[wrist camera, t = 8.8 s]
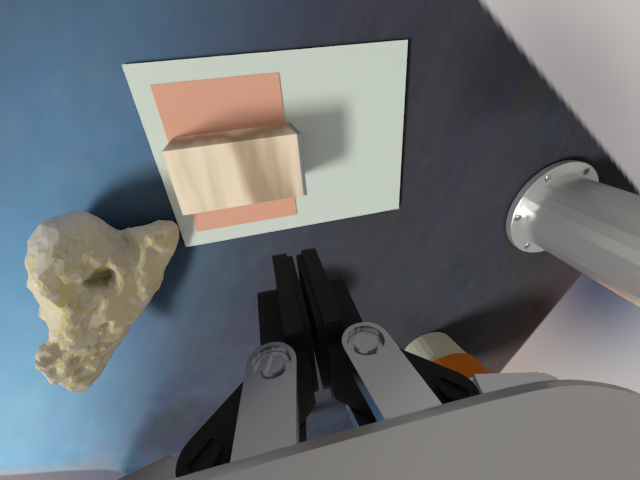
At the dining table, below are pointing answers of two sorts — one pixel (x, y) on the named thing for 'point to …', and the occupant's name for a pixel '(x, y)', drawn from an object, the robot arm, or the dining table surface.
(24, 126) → the dining table surface
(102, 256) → the beige rock
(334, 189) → the mat
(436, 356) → the reusable coffee cup
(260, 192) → the maple block
